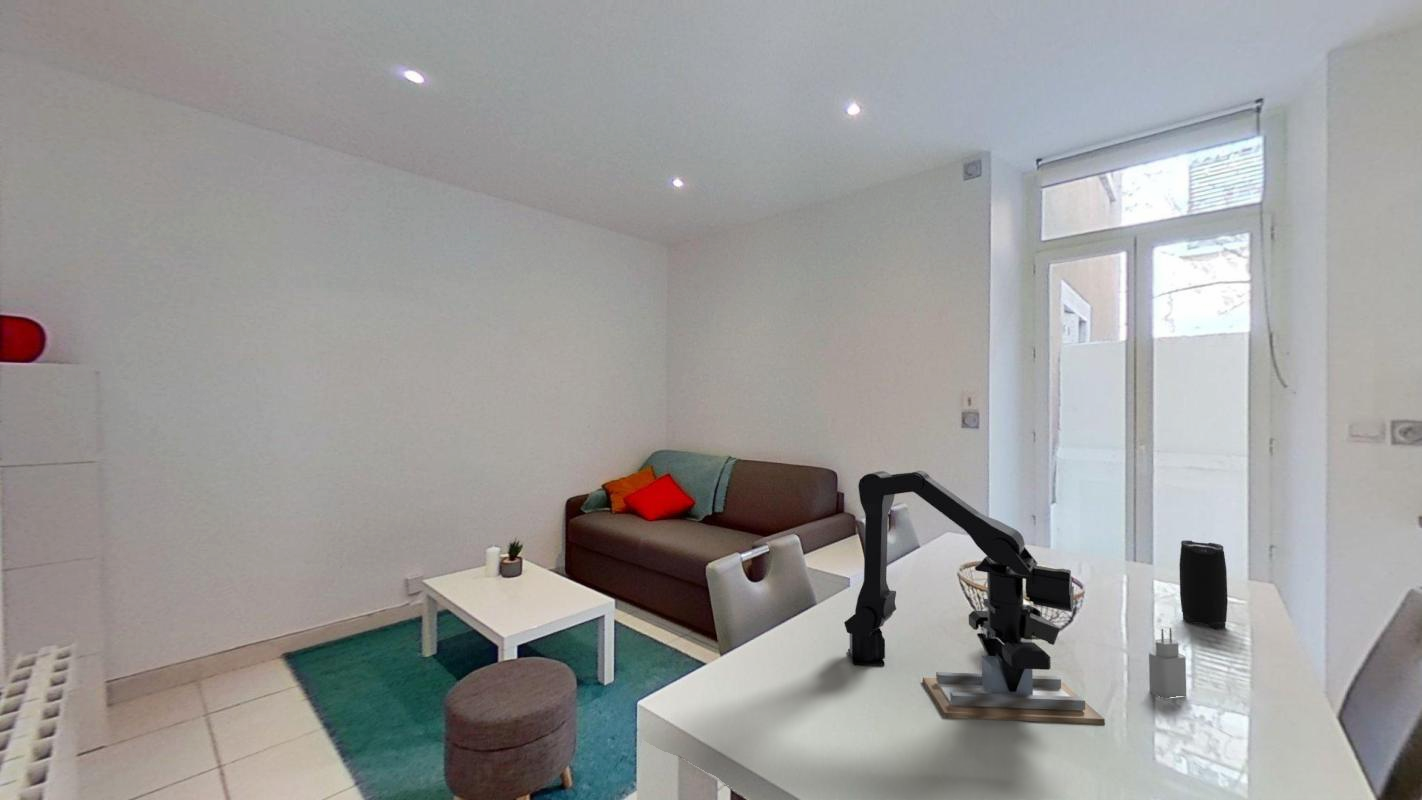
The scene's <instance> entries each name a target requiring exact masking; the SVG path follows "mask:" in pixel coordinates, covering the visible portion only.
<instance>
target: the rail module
mask: <svg viewBox="0 0 1422 800" xmlns="http://www.w3.org/2000/svg"><path fill="white" fill-rule="evenodd" d="M981 674H982V686H983V687H984V688H985V690H986V691H987V692H988V693H991V694H1017V695H1033V677H1032V675H1033V669H1025V670H1024V672H1023V674H1022V677H1021V680H1020V682H1019V685H1018V687H1017V690H1016V692H1010V691H1009V690H1008V687H1007V685H1006V682H1005V679H1004V676H1003V673H1002V670H1001V668H1000V665H999V662H998V659H997V656H987V655H981Z"/></svg>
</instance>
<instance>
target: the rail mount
mask: <svg viewBox="0 0 1422 800" xmlns="http://www.w3.org/2000/svg"><path fill="white" fill-rule="evenodd" d="M935 674H936V675H935V677H922V683H923V684H924V687H925V688H926V690H927V691H928V692H929V694H930V696H931V698H932V699H933V700H934V702H935V704H936V705H937V706H938V708H939V710H940V712H941V713H942V715H943V717H944V718H953V719H981V720H983V719H984V720H1002V721H1003V720H1004V721H1005V720H1006V721H1027V722H1028V721H1031V722H1047V723H1048V722H1052V723H1055V722H1056V723H1073V724H1074V723H1076V724H1077V723H1080V724H1099V725H1102V724H1103V725H1105V722H1106V721H1105V718H1104V717H1103V716H1102V715H1101V714H1100V713H1099V712H1097V711H1096V710H1095V709H1094V708H1093V707H1092V706H1091V705H1089V704H1088V703H1087V702H1086V700H1085V699H1084V698H1083V697H1082V696H1079V695H1078V694H1077V693H1076V692H1074V691H1073V690H1072V689H1071V688H1070V687H1069V686H1068V685H1066V683H1064V682H1062V679H1061V678H1060V677H1059V676H1057V675H1035V674H1034V675H1033V674H1032V677H1033V695H1017V694H991V693H988V692H987V691H986V690H985V688H984V687H983V686H982V673H978V672H977V673H975V672H971V673H970V672H947V671H946V672H943V671H941V672H939V671H937V672H936V673H935Z"/></svg>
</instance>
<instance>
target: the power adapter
mask: <svg viewBox="0 0 1422 800" xmlns="http://www.w3.org/2000/svg"><path fill="white" fill-rule="evenodd" d="M1160 630H1161V634H1160V636H1161V638H1160V639H1159V638H1158V639H1155V640H1154V641H1155V642H1154V643H1155V646H1154V648H1155V650H1154V651H1148V671H1149V672H1148V674H1149V675H1148V677H1149V679H1148V680H1149V692H1150V691H1151V692H1152V694H1153V693H1154V694H1153V695H1155V694H1156V695H1155V696H1157V695H1158V696H1157V697H1159V696H1160V697H1159V698H1161V697H1163V698H1162V699H1164V698H1170V697H1176V696H1186V697H1187V668H1186V666H1187V664H1186V663H1187V662H1186V656H1185V655H1184V654H1181V653H1179V641H1178V640H1177V639H1173V637H1172V634H1173V633H1172V627H1169V638H1165V636H1164V634H1165V633H1164V629H1163V628H1161V629H1160ZM1151 692H1150V693H1151Z"/></svg>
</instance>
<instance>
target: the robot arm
mask: <svg viewBox="0 0 1422 800" xmlns="http://www.w3.org/2000/svg"><path fill="white" fill-rule="evenodd" d="M906 493H915V494H916V496H918V497H920V498H921V499H922V500H923V501H925V502H926V503H928V504H929V505H930V506H932V507H933V508H935V510H938V511H939V512H940V513H941V514H943V515H944V516H945V517H947V518H948V519H949V520H950V521H951V522H953V523H954V524H956V525H957V526H958V527H960V528H961V529H962V530H964V531H965V533H967V534H968V535H969V537H970V538H971V540H972V541H973V542H974V544H975V545H976V546H977V547H978V548H979V550H981V551H982V553H984V554H985V555H986V556H984V558H983V559H982V561H981V562H979V563H977V564H976V565H975V566H974V570H975V571H978V572H982V573H986V575H987V576H986V578H987V579H986V580H987V581H986V584H987V598H983V601H982V602H983V605H984V606H985V607H986V608H987V610H972V611H971V612H970V613H969V614H968V625H969V626H970V628H972V629H973V630H975V631H976V630H979V626H980V628H981V629H980V632H978V633H977V634H976V636H977V637H978V640H979V641H980V643H981V645H982V647H983V650H984V652H985V654H986V656H997V659H998V662H999V665H1000V668H1001V670H1002V673H1003V676H1004V679H1005V682H1006V685H1007V687H1008V690H1009V691H1010V692H1016V690H1017V687H1018V685H1019V682H1020V680H1021V677H1022V674H1023V672H1024V670H1025V669H1032V670H1045V671H1046V670H1047V671H1049V670H1050V669H1051V666H1052V663H1051V656H1050V655H1049V654H1048V653H1047V652H1046V651H1045V650H1044V649H1042V648H1041V647H1040V646H1039V645H1038V644H1036V643H1035V642H1033V637H1034V638H1037V639H1039V640H1041V641H1045V642H1046V643H1048V644H1050V645H1053V646H1055V643H1056V641H1057V637H1058V636H1059V633H1060V629H1061V627H1059V626H1057V624H1055V623H1053V622H1052V621H1051V620H1050V619H1047V618H1045V617H1044V616H1042V615H1041V610H1039V609H1038V608H1036V607H1035V606H1038V607H1039V606H1040V607H1044V608H1049V609H1053V610H1054V609H1055V610H1060V611H1065V612H1069V613H1073V611H1074V602H1075V601H1074V598H1075V597H1074V596H1075V594H1074V593H1075V589H1074V587H1075V586H1073V579H1072V571H1071V570H1070V569H1066V568H1051V567H1046V566H1039V565H1038V562H1037V561H1036V560H1035V558H1034V557H1033V556H1032V554H1031V553H1030V551H1029V550H1028V549H1027V548H1026V547H1025V545H1026V544H1025V539H1024V536H1023V535H1022V533H1020V532H1019V531H1018V530H1017V529H1015V528H1014V527H1012V526H1009V525H1007V524H1006V523H1004V522H1002V521H999V520H997V519H995V518H992V517H989V516H988V515H987V516H986V515H985V514H983V513H981V512H979V511H978V510H976V509H975V508H974V507H972V506H971V505H969V504H968V503H966V502H965V501H964V500H963V499H961V498H960V497H958V496H957V495H956V494H954V493H953V492H952V491H950V490H949V489H947V488H946V487H944V486H943V485H941V484H940V483H939V482H938V481H936V480H935V479H933V478H932V477H931V476H930V475H929V474H928V473H927V472H925V471H923V470H916V471H913V472H905V473H904V472H903V473H896V474H895V473H894V474H891V473H889V472H887V471H883V470H881V471H874V472H871V473H867V474H865V475H863V477H861V478H860V479H859V481H858V495H859V501H860V502H859V503H860V504H861V507H862V510H863V512H864V515H865V518H864V519H865V520H864V521H865V523H864V527H865V528H864V557H863V558H864V559H863V561H864V562H863V583H862V584H861V585H862V586H861V588H860V591H859V593H858V595H857V600H856V605H855V609H854V611H855V612H854V614H852V616H851V617H849V618H848V619H847V620H845V621H844V623H843V625H844V627H845V629H846V630H845V631H846V633H848V635H849V648H848V649H847V652H848V655H849V657H850V660H851V662H852V664H853V665H859V666H885V664H886V663H885V661H884V660H885V658H886V641H885V638H884V636H883V631H882V630H881V628H882V627H883V626H884V624H885V622H887V621H888V620H890V618H891V617H892V615H893V614H894V612H895V611H896V610H897V607H896V597H897V591H896V590H891V589H890V588H889V586H888V585H889V584H888V581H887V570H888V569H887V566H888V563H887V562H888V534H889V533H888V531H889V530H888V526H889V525H888V524H889V523H888V522H889V514H890V511H891V508H892V505H893V504H894V500H895V495H899V494H906ZM1024 579H1025V596H1026V598H1028V600H1029V602H1032V604H1033V605H1034V606H1032V605H1031V604H1030V605H1031V606H1030V605H1027V606H1026V607H1024V606H1023V599H1024ZM1021 638H1024V639H1028V640H1032V642H1022V641H1020V640H1021Z"/></svg>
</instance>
